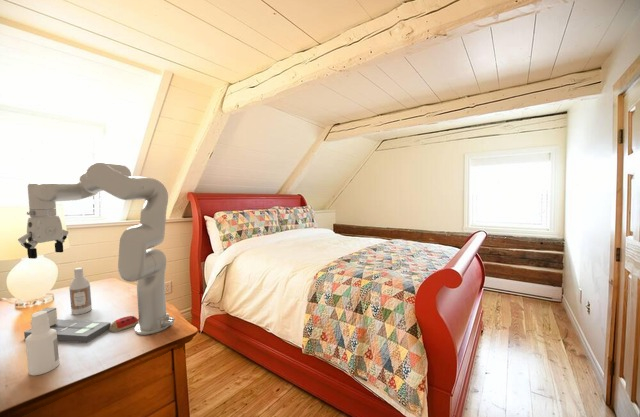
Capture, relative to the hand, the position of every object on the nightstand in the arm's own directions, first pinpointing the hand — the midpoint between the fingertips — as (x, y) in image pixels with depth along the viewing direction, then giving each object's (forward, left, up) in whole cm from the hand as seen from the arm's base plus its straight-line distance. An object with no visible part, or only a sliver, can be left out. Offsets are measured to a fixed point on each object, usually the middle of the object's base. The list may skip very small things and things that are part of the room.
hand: (46, 255), depth 112 cm
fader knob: (-6, +7, -26) cm, 27 cm away
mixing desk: (-15, +6, -29) cm, 33 cm away
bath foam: (-2, -11, -29) cm, 31 cm away
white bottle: (-28, +25, -29) cm, 48 cm away
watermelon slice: (-32, 0, -29) cm, 43 cm away
